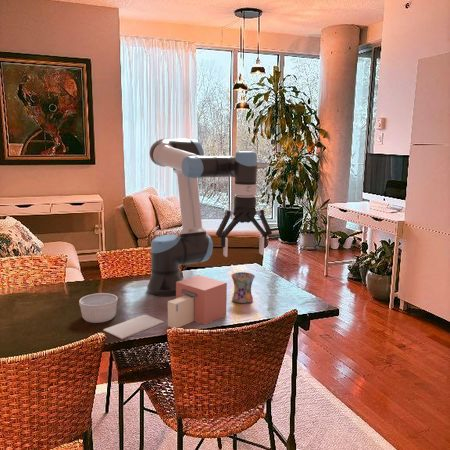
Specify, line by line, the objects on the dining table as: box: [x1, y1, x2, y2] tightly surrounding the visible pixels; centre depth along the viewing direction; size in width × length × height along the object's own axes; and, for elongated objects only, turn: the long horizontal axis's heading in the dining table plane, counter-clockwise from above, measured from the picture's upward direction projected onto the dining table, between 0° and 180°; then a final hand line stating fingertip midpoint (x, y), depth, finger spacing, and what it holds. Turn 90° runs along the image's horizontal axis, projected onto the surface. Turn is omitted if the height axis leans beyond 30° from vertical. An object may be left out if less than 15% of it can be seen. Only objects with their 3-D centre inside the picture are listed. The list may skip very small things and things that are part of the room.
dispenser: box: [175, 274, 228, 326], centre depth 164 cm, size 14×13×12 cm
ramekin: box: [78, 292, 119, 324], centre depth 161 cm, size 13×13×7 cm
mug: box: [230, 271, 256, 304], centre depth 181 cm, size 12×9×11 cm
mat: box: [103, 314, 165, 340], centre depth 154 cm, size 10×18×1 cm, turn 140°
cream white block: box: [167, 295, 195, 329], centre depth 158 cm, size 4×14×9 cm, turn 140°
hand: (243, 255), depth 161 cm, fingers open, 13 cm apart
